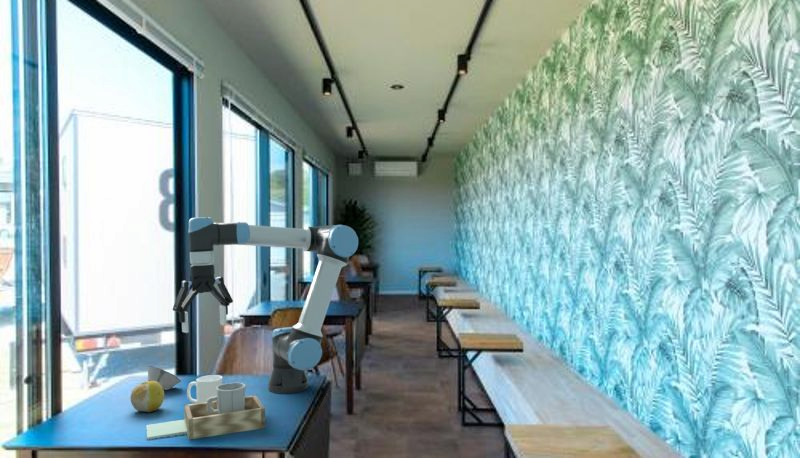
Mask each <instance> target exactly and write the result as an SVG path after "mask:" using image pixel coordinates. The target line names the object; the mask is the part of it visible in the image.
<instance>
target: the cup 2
mask: <svg viewBox="0 0 800 458" xmlns="http://www.w3.org/2000/svg"><path fill="white" fill-rule="evenodd" d="M246 389H247V388H246V384H245V383H243V382H227V383H222V384H221V385H218V386H217V387H216V396H213V397H209V398H208V399H207V411H208V412H209V413H211V414H223V413H229V412H236V411H243V410H244V404H245V397H246ZM213 401H217V409H215V410H214V409H213V408H212V407H211V405H210V404H211V403H212V402H213Z"/></svg>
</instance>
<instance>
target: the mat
mask: <svg viewBox="0 0 800 458" xmlns="http://www.w3.org/2000/svg"><path fill="white" fill-rule="evenodd" d="M145 428H146V430H147V431H146V441H149V439H150V440H156V439H155V438H157V439H161V438H160V437H164V438H167V437H166V436H170V437H175V435H177V436H182V435H183V434H184V435H187V429H186V424H185V418H184V419H179V420H178V419H177V420H172V421H165V422H159V423H158V422H157V423H151V424H146V427H145Z"/></svg>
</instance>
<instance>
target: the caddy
mask: <svg viewBox="0 0 800 458" xmlns="http://www.w3.org/2000/svg"><path fill="white" fill-rule="evenodd" d="M210 405H211V407H212V408H213V409H214V410H215V409H217V401H213V402H212V403H211V404H210ZM183 407H184V411H183V412H184V419H185V424H186V429H187V434H186V435H187V439H188V440H195V439H200V438H201V439H202V438H207V437H214V436H221V435H228V434H229V435H230V434H234V433H241V432H247V431H253V430H260V429H265V428H266V408H265V407H264V405H263V404H262V403H261V401H260V399H259V398H258V397H257V396H256V395H254V394H253V395H247V396H246V395H245V404H244V410H243V411H236V412H229V413H223V414H211V413H209V412H208V411H207V402H203V403H188V404H184V405H183Z"/></svg>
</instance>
